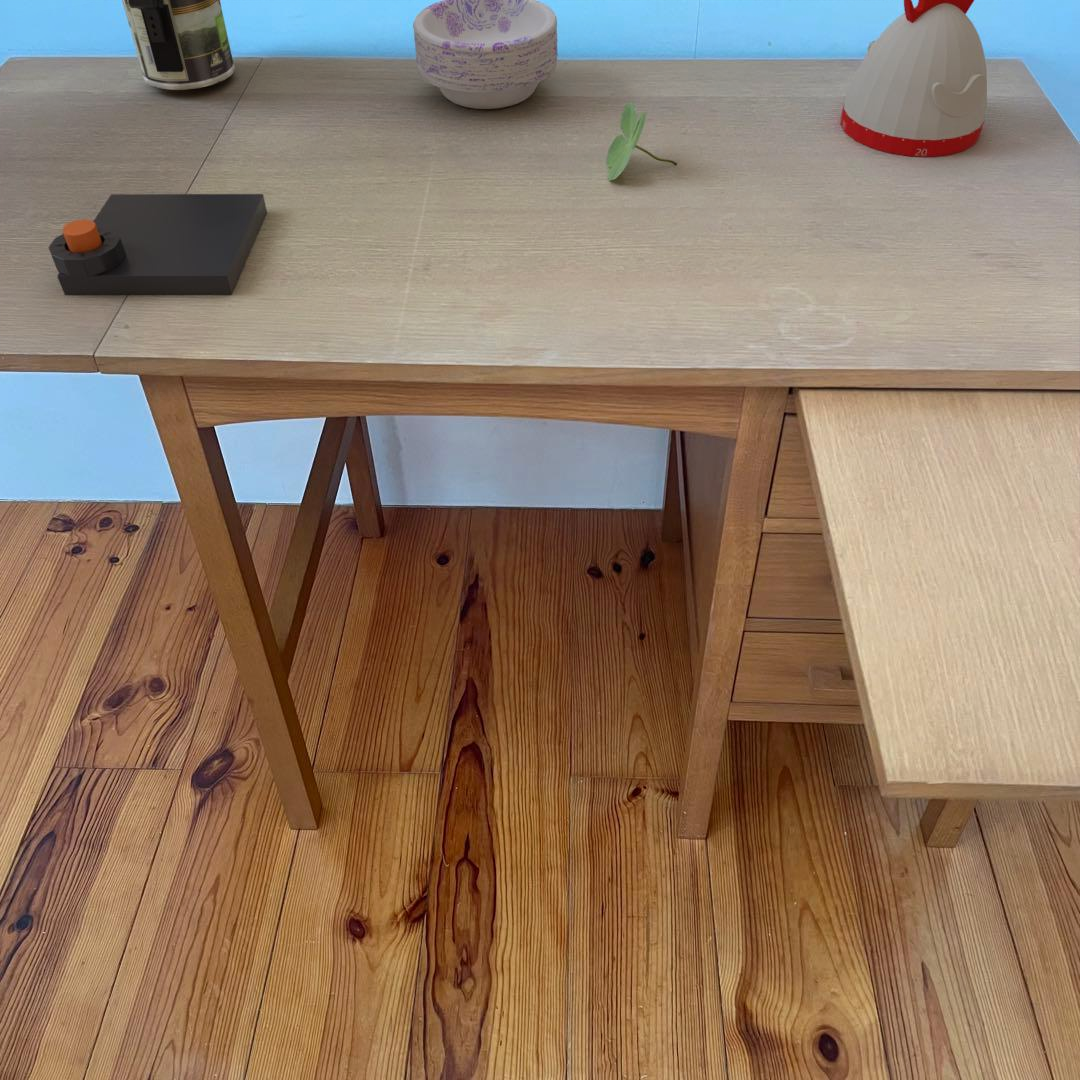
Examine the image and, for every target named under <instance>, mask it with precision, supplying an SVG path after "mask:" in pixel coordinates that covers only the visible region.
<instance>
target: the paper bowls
mask: <svg viewBox="0 0 1080 1080" xmlns="http://www.w3.org/2000/svg"><path fill="white" fill-rule="evenodd" d="M412 28H413V39H414V50H415V55H416V58H415V59H416V64H417V65H416V67H417V71H418V74H419V75H420V77H421V78H422V79H423V80H424V81H425V82H426V83H428V84H431V85H433V86H435V87H438V88H439V90H440V92H441V94H442V95H443V96H444V97H445V98H446V99H447V101H450V102H451V103H453V104H455V105H457V106H460V107H464V108H469V109H476V110H497V109H503V108H508V107H511V106H514V105H517V104H519V103H522V102H523V101H526V99H527V100H528V98H530V97H531V96H532V95H533V93H534V92H535V91H536V89H537V86H538V85H539V83H540V81H543V80H544V79H546V78H549V76H551V74H552V73H553V72H554V71H555V69H556V68H557V64H558V55H559V54H558V42H559V40H558V19H557V16H556V14H555V12H554V10H553V9H552V8H551V7H549V6H548V5H546V4H545V3H543V2H541V1H538V0H439V1H437V2H434V3H432V4H430V5H427V6H426V7H425V8H423V9H421V10H420V12H419V13H417V14H416V16H415V18H414V21H413V25H412Z"/></svg>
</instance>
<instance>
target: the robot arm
mask: <svg viewBox="0 0 1080 1080" xmlns="http://www.w3.org/2000/svg"><path fill="white" fill-rule="evenodd" d="M128 2H129V5H130V7H131V8H140V9H141V13H142V16H143V20H144V24H145V28H146V31H147V35H148V39H149V43H150V46H151V50H152V54H153V58H154V62H155V65H156V69H157V72H182V71H183V70H184V67H183V63H182V59H181V55H180V51H179V47H178V43H177V39H176V35H175V31H174V27H173V23H172V19H171V15H170V11H169V7H168V4H164V2H163V0H128Z"/></svg>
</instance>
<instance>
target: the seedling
mask: <svg viewBox="0 0 1080 1080" xmlns="http://www.w3.org/2000/svg"><path fill="white" fill-rule="evenodd" d="M646 116H647V110H646V109H643V111H642V113H641V114H640V117H638V112H637V109H636V103H635V101H628V102H627V103H626V104H625V106H624V108H623V110H622V113H621V116H620V129H621V132H622V133H623V134H618V135H616V137H615V138H614V139H613V141H612V142H611V144H610V146H609V148H608V151H607V155H606V160H605V161H606V162H605V164H606V167H607V168H609V170H608V172H607V176H606V177H607V178H608V181H614V180H615V179H617V178H618V177H619V176H620V175H621V174H622V172H623V171H624V170H625V168H626V167H627V165H628V163H629V161H630V158H631V156H632V153H633V150H634V149H635V148H636V149H638V150H639V151H641V152H644V153H645V154H647V155H648V156H649V157H651V158H652V159H655V160H656V161H659V162H665V163H666V162H667V163H671V164H673V165H674V166H677V165H678V162H676V161H674V160H671V159H667V158H661V157H657V156H656V155H654V154H653V153H652V152H650V151H648V150H647V149H645V148H643V147H641V146H639V145H637V144H638V142H639V138H640V136H641V134H642V131H643V128H644V125H645V121H646Z"/></svg>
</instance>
